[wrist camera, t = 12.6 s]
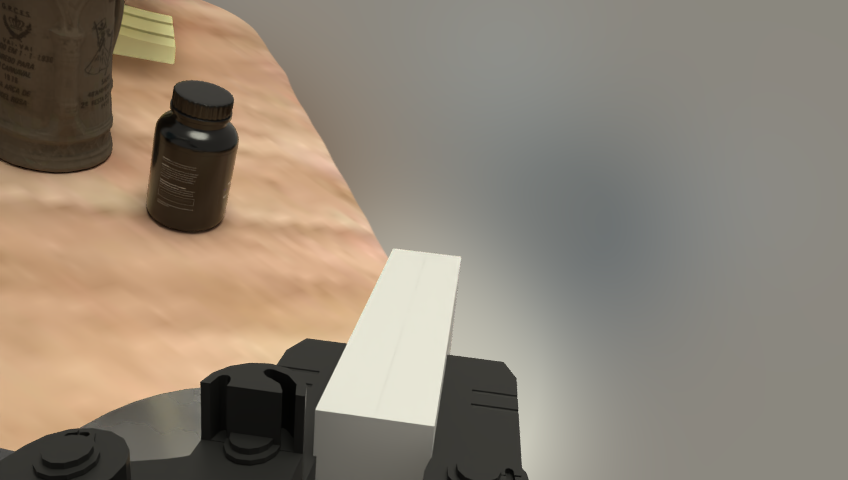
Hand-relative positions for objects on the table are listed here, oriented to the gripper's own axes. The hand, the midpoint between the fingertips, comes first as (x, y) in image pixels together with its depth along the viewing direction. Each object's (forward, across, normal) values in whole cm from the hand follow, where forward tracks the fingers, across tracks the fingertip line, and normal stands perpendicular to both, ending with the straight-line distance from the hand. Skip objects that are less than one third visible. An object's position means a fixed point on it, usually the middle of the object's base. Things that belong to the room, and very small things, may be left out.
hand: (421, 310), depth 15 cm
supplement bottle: (+42, -25, -12) cm, 51 cm away
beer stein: (+47, -40, -7) cm, 62 cm away
